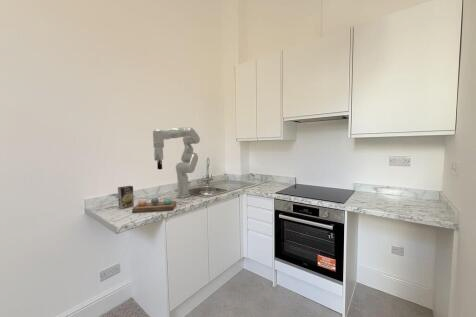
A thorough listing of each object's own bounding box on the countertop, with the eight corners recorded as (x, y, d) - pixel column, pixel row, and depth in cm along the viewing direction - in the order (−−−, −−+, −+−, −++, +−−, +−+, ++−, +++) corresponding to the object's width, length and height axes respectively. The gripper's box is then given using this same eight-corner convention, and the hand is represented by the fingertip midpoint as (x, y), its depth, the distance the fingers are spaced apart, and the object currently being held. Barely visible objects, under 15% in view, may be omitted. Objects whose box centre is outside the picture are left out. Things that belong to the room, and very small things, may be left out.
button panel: (138, 207, 161) (138, 203, 161) (175, 204, 165) (175, 201, 165) (132, 213, 148) (132, 208, 147) (172, 210, 152) (172, 206, 151)
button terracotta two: (140, 204, 157) (139, 200, 157) (146, 204, 158) (146, 200, 158) (137, 206, 152) (137, 202, 152) (145, 206, 153) (144, 202, 153)
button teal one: (164, 203, 160) (164, 199, 159) (171, 202, 160) (171, 198, 160) (163, 204, 155) (163, 200, 155) (170, 204, 155) (170, 200, 155)
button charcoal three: (152, 202, 158) (152, 198, 158) (159, 201, 159) (159, 198, 159) (150, 204, 153) (150, 200, 153) (157, 203, 154) (157, 199, 154)
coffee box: (122, 209, 157) (120, 188, 156) (118, 207, 161) (117, 187, 160) (134, 206, 164) (133, 186, 163) (130, 204, 168) (129, 185, 167)
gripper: (156, 145, 168) (157, 168, 170) (151, 146, 153) (152, 170, 155) (165, 145, 169) (166, 168, 171) (161, 145, 155) (162, 170, 156)
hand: (159, 169), depth 163 cm, fingers closed
